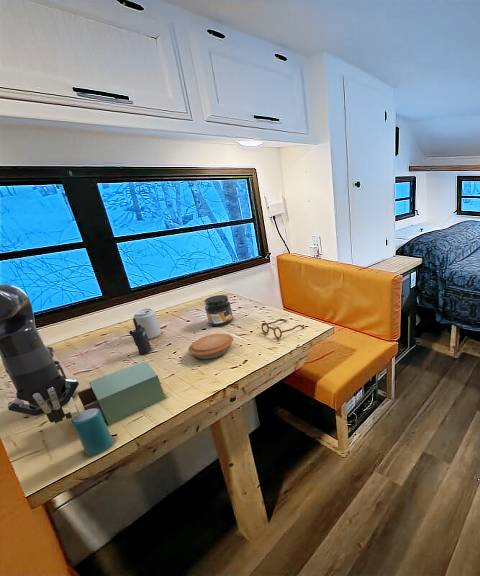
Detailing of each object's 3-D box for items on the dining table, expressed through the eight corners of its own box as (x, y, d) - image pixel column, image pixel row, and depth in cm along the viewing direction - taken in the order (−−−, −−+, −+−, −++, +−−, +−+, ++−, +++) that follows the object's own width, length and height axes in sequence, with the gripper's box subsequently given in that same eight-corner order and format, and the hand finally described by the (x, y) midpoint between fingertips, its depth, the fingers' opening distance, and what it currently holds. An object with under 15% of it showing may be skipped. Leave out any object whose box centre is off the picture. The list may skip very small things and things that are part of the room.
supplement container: (217, 329, 136) (211, 304, 132) (204, 324, 142) (198, 300, 138) (238, 320, 145) (233, 296, 141) (225, 315, 150) (220, 292, 146)
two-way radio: (148, 354, 118) (136, 319, 113) (134, 356, 116) (122, 321, 111) (152, 347, 123) (141, 313, 118) (139, 349, 121) (127, 315, 116)
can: (163, 335, 132) (156, 310, 128) (142, 342, 127) (133, 316, 122) (159, 330, 137) (151, 305, 132) (139, 336, 132) (130, 311, 127)
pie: (234, 338, 128) (232, 327, 127) (235, 356, 115) (232, 344, 113) (192, 347, 122) (189, 336, 121) (188, 367, 109) (184, 355, 107)
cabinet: (108, 425, 84) (97, 400, 81) (98, 405, 91) (88, 381, 88) (165, 398, 94) (157, 375, 91) (152, 382, 101) (144, 360, 98)
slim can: (88, 459, 74) (72, 426, 70) (84, 448, 77) (68, 416, 73) (115, 445, 77) (101, 413, 74) (110, 435, 80) (97, 404, 77)
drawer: (74, 437, 79) (64, 416, 77) (67, 417, 86) (57, 397, 83) (138, 407, 89) (130, 388, 87) (127, 391, 96) (120, 373, 93)
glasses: (261, 332, 132) (259, 322, 131) (285, 321, 143) (284, 311, 141) (281, 340, 125) (279, 329, 124) (305, 328, 136) (303, 317, 134)
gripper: (66, 348, 81) (89, 400, 87) (-12, 372, 72) (20, 429, 78) (70, 358, 77) (94, 412, 83) (-12, 385, 67) (22, 444, 73)
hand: (58, 420), depth 80 cm, fingers closed
